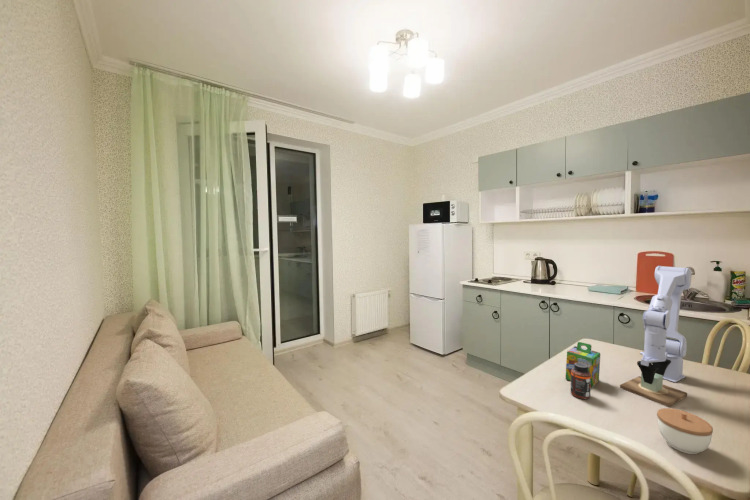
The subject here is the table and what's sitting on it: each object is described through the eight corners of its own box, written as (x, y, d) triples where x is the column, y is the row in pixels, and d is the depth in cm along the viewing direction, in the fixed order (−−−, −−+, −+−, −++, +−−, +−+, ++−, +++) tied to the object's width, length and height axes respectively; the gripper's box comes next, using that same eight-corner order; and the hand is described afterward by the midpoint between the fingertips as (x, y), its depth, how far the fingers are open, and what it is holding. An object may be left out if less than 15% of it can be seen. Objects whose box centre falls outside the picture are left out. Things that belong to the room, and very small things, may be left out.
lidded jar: (645, 434, 89) (646, 403, 88) (679, 431, 90) (680, 401, 89) (685, 462, 78) (687, 427, 78) (723, 459, 79) (725, 424, 78)
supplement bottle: (593, 400, 106) (594, 369, 106) (574, 399, 108) (575, 368, 107) (585, 391, 112) (586, 361, 111) (567, 390, 113) (568, 360, 113)
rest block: (646, 383, 115) (647, 370, 114) (662, 388, 110) (662, 375, 110) (640, 386, 113) (641, 373, 112) (656, 392, 108) (656, 378, 108)
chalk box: (565, 379, 121) (565, 343, 120) (573, 372, 127) (574, 337, 126) (592, 388, 114) (593, 350, 113) (600, 380, 120) (601, 344, 119)
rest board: (639, 379, 121) (639, 375, 120) (687, 396, 108) (687, 392, 108) (620, 387, 114) (620, 384, 114) (668, 407, 102) (669, 403, 102)
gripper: (650, 336, 117) (649, 371, 118) (631, 344, 110) (629, 380, 111) (675, 342, 110) (673, 379, 111) (655, 350, 104) (654, 389, 105)
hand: (653, 380), depth 111 cm, fingers open, 7 cm apart
